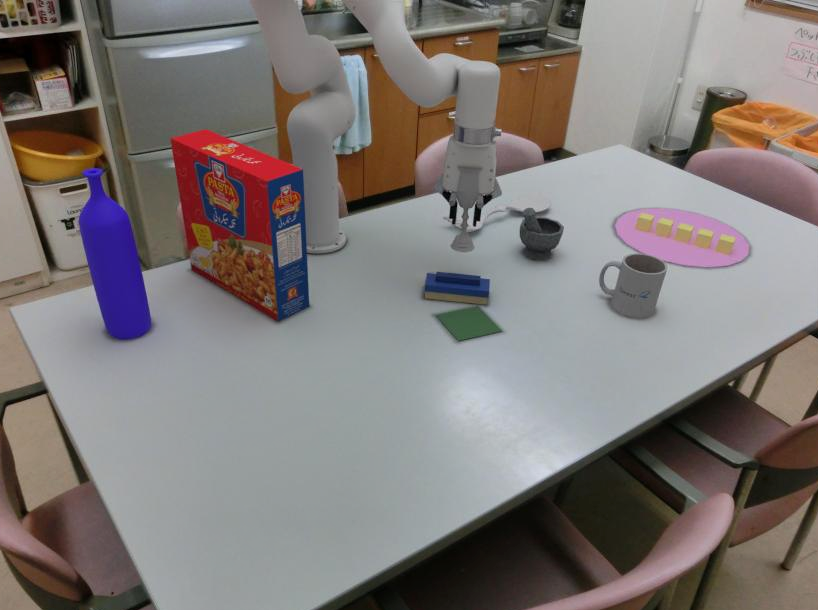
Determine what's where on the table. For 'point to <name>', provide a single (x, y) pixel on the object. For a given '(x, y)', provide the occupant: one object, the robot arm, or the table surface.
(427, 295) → the brush
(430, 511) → the table surface
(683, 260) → the platter
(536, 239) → the mortar and pestle
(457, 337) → the green cloth
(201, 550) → the table surface
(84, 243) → the bottle
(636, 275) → the mug
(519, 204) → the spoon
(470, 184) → the chalice
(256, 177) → the pasta box
